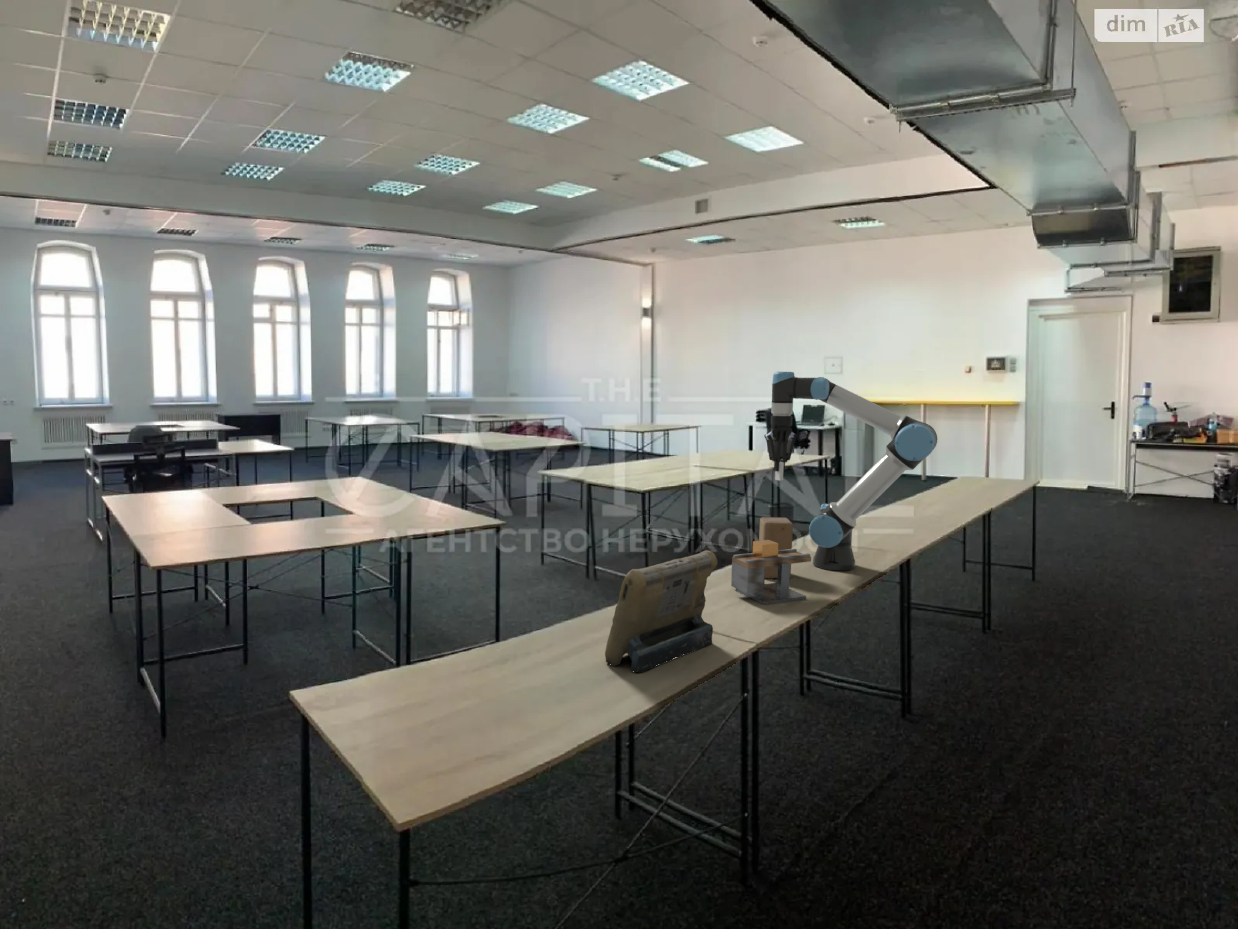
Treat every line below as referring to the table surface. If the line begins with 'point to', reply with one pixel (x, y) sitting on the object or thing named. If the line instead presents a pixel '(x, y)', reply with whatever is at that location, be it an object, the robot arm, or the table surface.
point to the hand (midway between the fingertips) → (778, 479)
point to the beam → (759, 568)
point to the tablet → (661, 612)
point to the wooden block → (776, 538)
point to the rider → (765, 549)
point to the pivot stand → (776, 589)
